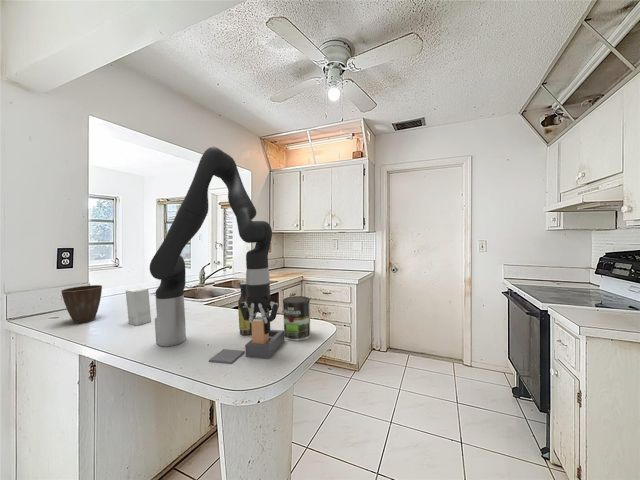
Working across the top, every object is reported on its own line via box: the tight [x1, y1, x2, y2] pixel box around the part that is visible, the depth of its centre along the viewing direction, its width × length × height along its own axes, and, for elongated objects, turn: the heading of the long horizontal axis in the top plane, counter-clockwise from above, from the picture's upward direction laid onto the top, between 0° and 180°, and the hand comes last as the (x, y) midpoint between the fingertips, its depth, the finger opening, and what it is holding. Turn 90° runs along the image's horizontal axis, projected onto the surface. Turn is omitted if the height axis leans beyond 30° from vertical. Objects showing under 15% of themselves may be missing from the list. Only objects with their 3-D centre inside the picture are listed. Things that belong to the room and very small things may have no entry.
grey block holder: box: [244, 329, 286, 360], centre depth 96 cm, size 8×14×4 cm, turn 166°
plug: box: [251, 315, 269, 344], centre depth 93 cm, size 4×4×10 cm
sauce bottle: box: [237, 282, 252, 336], centre depth 112 cm, size 6×6×20 cm
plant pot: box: [60, 284, 103, 324], centre depth 134 cm, size 15×15×16 cm
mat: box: [208, 348, 246, 365], centre depth 91 cm, size 8×8×1 cm
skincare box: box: [125, 287, 152, 326], centre depth 129 cm, size 8×7×16 cm
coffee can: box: [282, 295, 312, 342], centre depth 107 cm, size 10×10×14 cm
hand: (260, 332), depth 93 cm, fingers closed on plug, 4 cm apart
